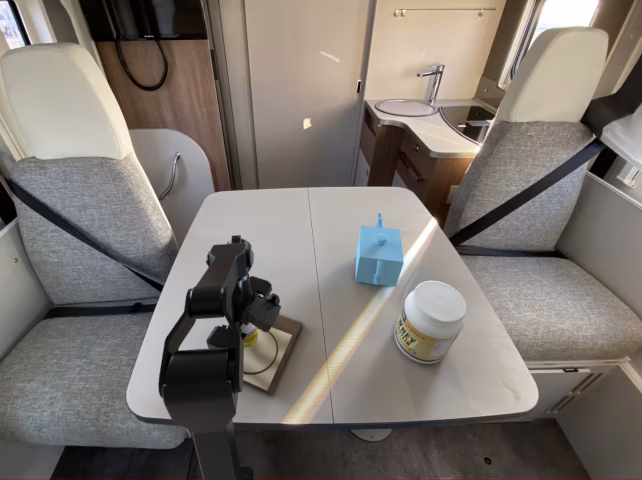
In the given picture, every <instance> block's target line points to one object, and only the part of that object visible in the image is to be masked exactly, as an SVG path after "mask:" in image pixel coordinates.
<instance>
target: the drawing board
mask: <svg viewBox="0 0 642 480" xmlns="http://www.w3.org/2000/svg"><path fill="white" fill-rule="evenodd" d="M302 325H303V324H302V322H299V321H296V320H294V319H291V318H288V317H286V316H283V315H280V314H279V315H278V316H277V318H276V320H275V322H274V324H273V326H272V327H271V329H270V330H269V331H268V332H263V331H262V330H261V329H259V328H257V331H258V340H257V342H256V344H255V345H254V346H252V347H250V348H244V372H243V383H246V384H248V385H250V386H253V387H254V388H257V389H259V390H261V391H264V392H265V393H268V394H270V395H273V392H274V390H275V388H276V386H277V383H278V381H279V379H280V376H281V374H282V372H283V369H284V368H285V365H286V363H287V361H288V358H289V356H290V353H291V351H292V349H293V347H294V344H295V342H296V340H297V337H298V335H299V333H300V331H301V328H302V327H303V326H302Z"/></svg>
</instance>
